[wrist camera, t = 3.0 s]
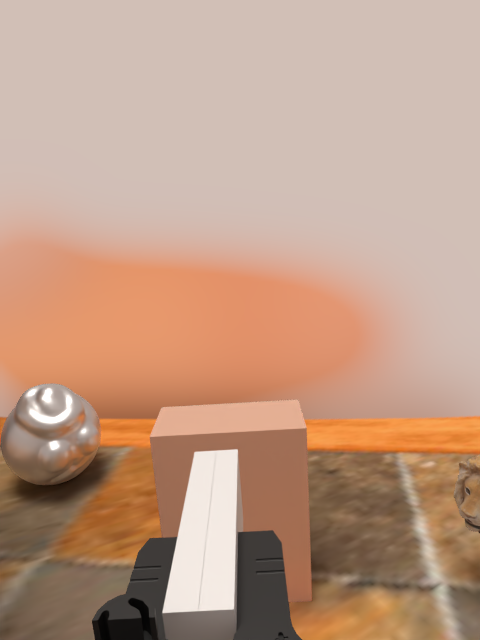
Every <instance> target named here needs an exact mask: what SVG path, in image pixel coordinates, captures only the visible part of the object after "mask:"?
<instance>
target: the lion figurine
mask: <svg viewBox="0 0 480 640" xmlns="http://www.w3.org/2000/svg"><path fill="white" fill-rule="evenodd" d="M454 498H455V501H456V503H457V506H458V508H459V512H460V515H461V516H462V517H463V518H465V524H466V527H467V528H468V529H469V530H471V531H475V532H477V531H478V532H479V533H480V455H477V456H474V457H472V458H471V459H469V460H468V461H467V462H460V463H459V475H458V480H457V482H456V486H455V491H454Z"/></svg>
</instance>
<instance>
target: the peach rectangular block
mask: <svg viewBox="0 0 480 640" xmlns="http://www.w3.org/2000/svg"><path fill="white" fill-rule="evenodd" d="M150 443H151V451H152V459H153V467H154V475H155V483H156V492H157V500H158V508H159V516H160V524H161V532H162V538H165V537H178V532H179V527H180V522H181V517H182V512H183V508H184V503H185V498H186V493H187V488H188V483H189V478H190V473H191V468H192V463H193V458H194V453H195V452H201V451H217V450H234V449H238V458H239V471H240V484H241V497H242V509H243V532H250V531H268V530H273V531H274V533H275V534H276V535H277V537H278V538H279V540H280V541H281V542H282V550H283V559H284V567H285V576H286V585H287V593H288V602H304V601H312V582H311V551H310V521H309V490H308V460H307V429H306V425H305V421H304V418H303V415H302V411H301V408H300V404H299V400H285V401H284V400H283V401H266V402H249V403H230V404H213V405H196V406H178V407H162V408H161V410H160V413H159V415H158V418H157V420H156V423H155V425H154V428H153V430H152V433H151V435H150Z"/></svg>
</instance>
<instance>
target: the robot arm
mask: <svg viewBox="0 0 480 640" xmlns="http://www.w3.org/2000/svg"><path fill="white" fill-rule="evenodd" d="M92 624H93V630H94V635H95V640H302V639H301V638H300V637H299V636H298V635H297V634H296V632H295V630H294V628H293V627H292V623H291V619H290V611H289V602H288V593H287V585H286V576H285V567H284V559H283V550H282V542H281V541H280V540H279V538H278V537H277V535H276V534H275V533H274V531H273V530H268V531H250V532H243V509H242V497H241V484H240V471H239V458H238V449H234V450H217V451H201V452H195V453H194V458H193V463H192V468H191V473H190V478H189V483H188V488H187V493H186V498H185V503H184V508H183V512H182V517H181V522H180V527H179V532H178V537H165V538H150V539H149V540H148V541H147V542H146V544H145V545H144V546H143V547H142V548H141V550H140V551H139V552H138V555H137V559H136V562H135V565H134V570H133V572H132V575H131V578H130V583H129V585H128V588H127V591H126V594H125V595H120V596H117V597H115V598H114V599H112V600H110V601H108V602H107V603H105V604H104V605H103V606H102V607H101V608H100V609H99V610H98V611H97V613H96V615H95V616H94V618H93V620H92Z"/></svg>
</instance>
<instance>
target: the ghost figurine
mask: <svg viewBox="0 0 480 640" xmlns="http://www.w3.org/2000/svg"><path fill="white" fill-rule="evenodd" d="M100 440H101V426H100V422H99V418H98V416H97V414H96V412H95V410H94V409H93V407H92V406H91V405H90V404H89V403H88V402H87V401H86V400H85V399H84V398H82V397H80V396H79V395H77V394H75V393H74V392H73V391H71V390H70V389H69V388H67V387H65V386H63V385H59V384H42V385H38V386H35V387H32V388H30V389H28V390H27V391H25V393H23V395H22V396H21V397H20V399H19V401H18V403H17V405H16V407H15V408H14V409H13V410H12V412H11V413H10V414H9V416H8V417H7V419H6V421H5V424H4V426H3V429H2V434H1V450H2V454H3V457H4V460H5V462H6V463H7V465H8V467H9V468H10V469H11V470H12V471H13V472H14V473H15V474H16V475H17V476H18V477H20V478H21V479H23V480H25V481H27V482H30V483H33V484H37V485H55V484H60V483H63V482H66V481H68V480H71V479H72V478H74V477H76V476H77V475H79V474H80V473H81V472H83V471H84V470H85V469H86V468H87V467H88V466H89V464H90V463H91V462H92V460H93V459H94V457H95V455H96V453H97V451H98V448H99V445H100Z"/></svg>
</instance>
